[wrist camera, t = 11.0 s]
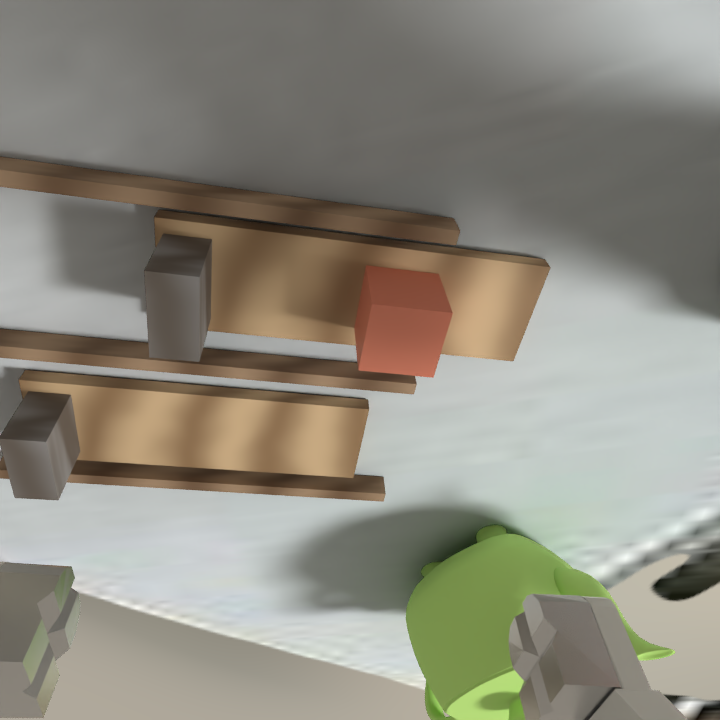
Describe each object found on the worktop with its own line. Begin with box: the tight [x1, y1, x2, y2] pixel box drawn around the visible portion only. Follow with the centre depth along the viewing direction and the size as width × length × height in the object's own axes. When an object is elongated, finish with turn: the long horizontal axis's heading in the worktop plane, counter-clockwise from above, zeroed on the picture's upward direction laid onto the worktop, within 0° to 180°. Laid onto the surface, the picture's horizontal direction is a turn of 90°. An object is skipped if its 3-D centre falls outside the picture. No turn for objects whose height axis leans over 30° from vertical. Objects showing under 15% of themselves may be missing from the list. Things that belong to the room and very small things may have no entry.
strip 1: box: [0, 370, 369, 500], centre depth 45 cm, size 26×8×6 cm, turn 81°
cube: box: [354, 265, 453, 377], centre depth 38 cm, size 5×5×5 cm
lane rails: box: [0, 157, 460, 501], centre depth 43 cm, size 32×26×2 cm
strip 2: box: [144, 210, 550, 362], centre depth 38 cm, size 26×8×6 cm, turn 81°
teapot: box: [406, 525, 675, 720], centre depth 56 cm, size 25×22×16 cm
